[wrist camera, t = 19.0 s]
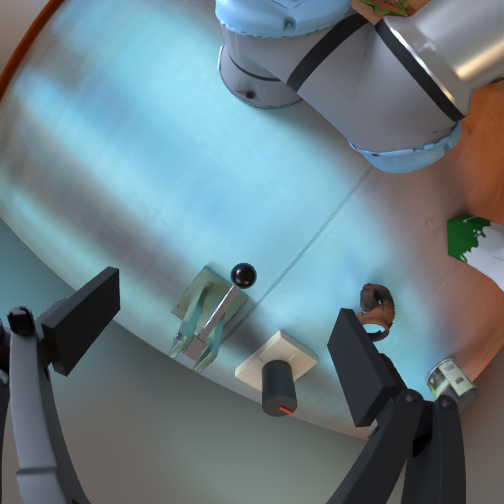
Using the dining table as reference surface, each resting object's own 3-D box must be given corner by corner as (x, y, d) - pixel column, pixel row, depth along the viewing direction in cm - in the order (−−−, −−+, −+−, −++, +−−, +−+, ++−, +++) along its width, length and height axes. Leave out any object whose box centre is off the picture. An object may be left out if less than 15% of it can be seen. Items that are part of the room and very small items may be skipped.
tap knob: (255, 372, 49) (255, 409, 39) (275, 354, 47) (279, 392, 38) (277, 384, 50) (280, 421, 40) (297, 368, 48) (304, 405, 39)
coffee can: (429, 391, 56) (450, 424, 43) (422, 376, 54) (445, 412, 40) (457, 368, 54) (480, 399, 40) (451, 351, 52) (478, 383, 38)
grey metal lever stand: (205, 264, 45) (184, 308, 31) (248, 295, 46) (245, 348, 32) (172, 308, 47) (145, 359, 33) (212, 335, 49) (199, 391, 35)
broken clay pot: (396, 305, 48) (397, 341, 42) (353, 312, 53) (350, 347, 47) (386, 264, 42) (389, 303, 36) (336, 274, 47) (331, 312, 41)
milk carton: (444, 259, 44) (510, 303, 25) (443, 216, 41) (517, 247, 22) (472, 248, 43) (535, 284, 24) (471, 207, 41) (541, 233, 22)
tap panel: (279, 329, 48) (281, 337, 46) (316, 354, 50) (318, 362, 48) (235, 368, 51) (235, 377, 49) (271, 389, 53) (272, 397, 51)
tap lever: (237, 258, 39) (244, 256, 36) (256, 273, 40) (265, 272, 37) (177, 345, 35) (178, 352, 32) (198, 358, 36) (201, 366, 33)
